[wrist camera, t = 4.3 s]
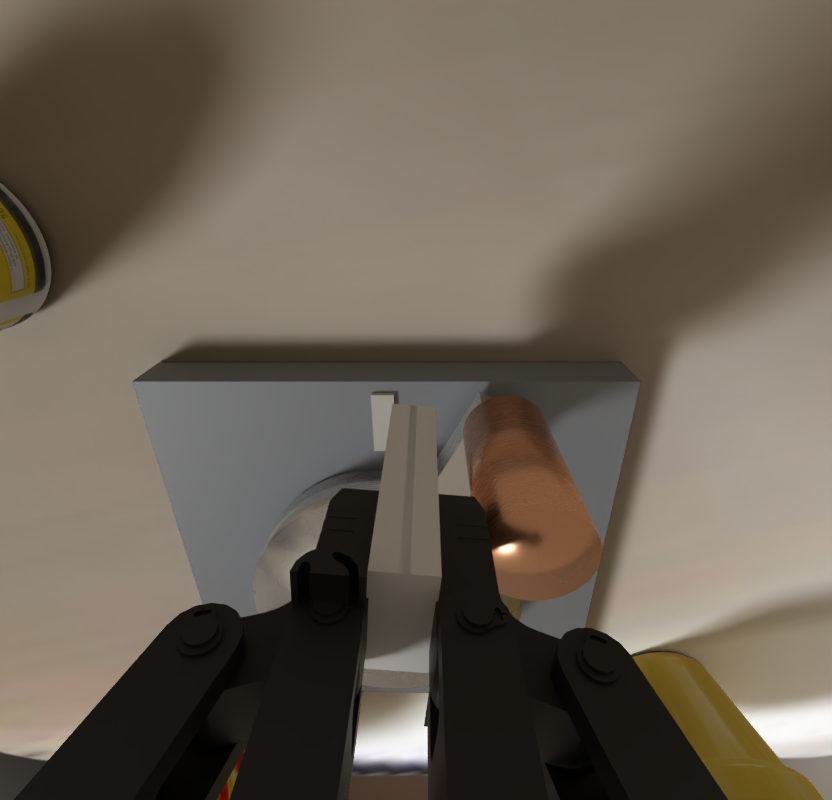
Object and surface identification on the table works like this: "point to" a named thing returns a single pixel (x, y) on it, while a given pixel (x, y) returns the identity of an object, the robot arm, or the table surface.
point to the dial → (497, 494)
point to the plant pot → (721, 732)
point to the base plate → (353, 447)
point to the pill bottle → (20, 262)
